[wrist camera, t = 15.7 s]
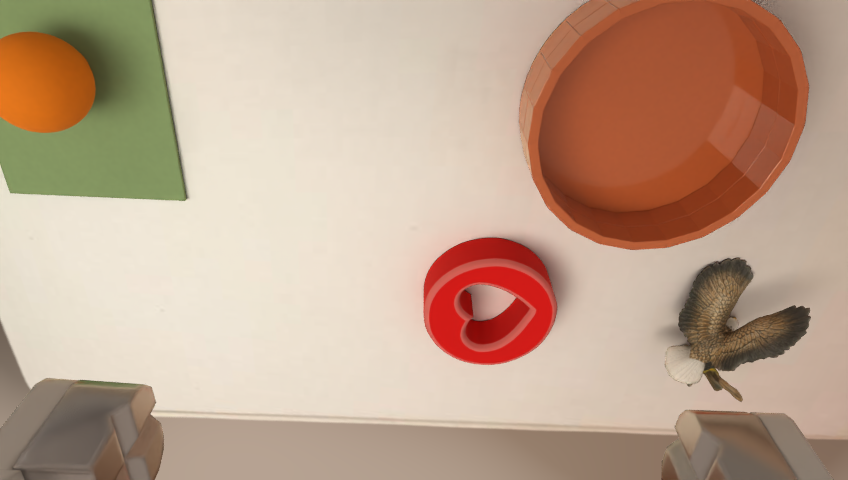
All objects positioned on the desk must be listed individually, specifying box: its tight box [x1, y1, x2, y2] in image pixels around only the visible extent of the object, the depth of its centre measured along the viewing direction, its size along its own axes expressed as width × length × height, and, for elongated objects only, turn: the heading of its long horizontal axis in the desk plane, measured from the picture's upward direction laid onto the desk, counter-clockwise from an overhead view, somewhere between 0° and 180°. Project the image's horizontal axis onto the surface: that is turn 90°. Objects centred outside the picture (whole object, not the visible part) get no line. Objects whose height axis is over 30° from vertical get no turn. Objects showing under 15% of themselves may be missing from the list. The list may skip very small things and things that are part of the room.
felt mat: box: [0, 0, 187, 201], centre depth 37 cm, size 18×12×1 cm, turn 177°
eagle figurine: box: [665, 258, 811, 402], centre depth 44 cm, size 8×7×9 cm
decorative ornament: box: [424, 238, 557, 365], centre depth 45 cm, size 10×10×3 cm
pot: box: [519, 0, 809, 250], centre depth 36 cm, size 16×16×4 cm
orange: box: [0, 32, 96, 133], centre depth 34 cm, size 6×6×6 cm
